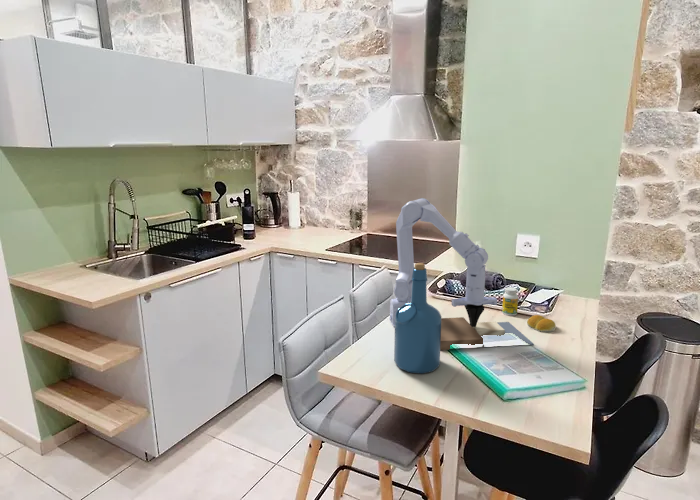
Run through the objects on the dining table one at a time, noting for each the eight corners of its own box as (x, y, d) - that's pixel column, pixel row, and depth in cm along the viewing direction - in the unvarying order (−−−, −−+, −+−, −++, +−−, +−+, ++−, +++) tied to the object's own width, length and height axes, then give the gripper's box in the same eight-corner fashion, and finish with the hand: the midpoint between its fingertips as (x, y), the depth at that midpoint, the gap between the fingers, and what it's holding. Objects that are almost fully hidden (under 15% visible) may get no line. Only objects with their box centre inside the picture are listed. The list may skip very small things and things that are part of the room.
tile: (477, 338, 145) (477, 331, 144) (469, 329, 152) (470, 322, 151) (504, 337, 146) (504, 330, 145) (495, 328, 152) (495, 321, 152)
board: (438, 350, 138) (439, 341, 137) (423, 327, 155) (424, 319, 155) (482, 347, 139) (483, 338, 139) (463, 325, 157) (463, 317, 156)
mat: (484, 347, 139) (484, 346, 139) (464, 325, 157) (464, 323, 157) (533, 345, 141) (533, 343, 141) (508, 323, 158) (508, 321, 158)
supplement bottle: (516, 311, 169) (518, 287, 167) (517, 316, 164) (519, 291, 162) (501, 310, 171) (503, 286, 168) (501, 315, 166) (503, 290, 163)
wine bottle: (419, 349, 138) (422, 255, 131) (450, 367, 127) (455, 265, 121) (383, 361, 131) (384, 262, 124) (413, 380, 120) (416, 273, 113)
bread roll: (545, 335, 149) (547, 323, 148) (522, 326, 156) (523, 315, 155) (560, 329, 153) (562, 318, 152) (537, 321, 160) (538, 310, 159)
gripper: (457, 291, 139) (455, 331, 143) (502, 289, 141) (499, 329, 144) (450, 284, 146) (448, 323, 149) (493, 282, 148) (490, 321, 151)
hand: (472, 325), depth 147 cm, fingers closed
